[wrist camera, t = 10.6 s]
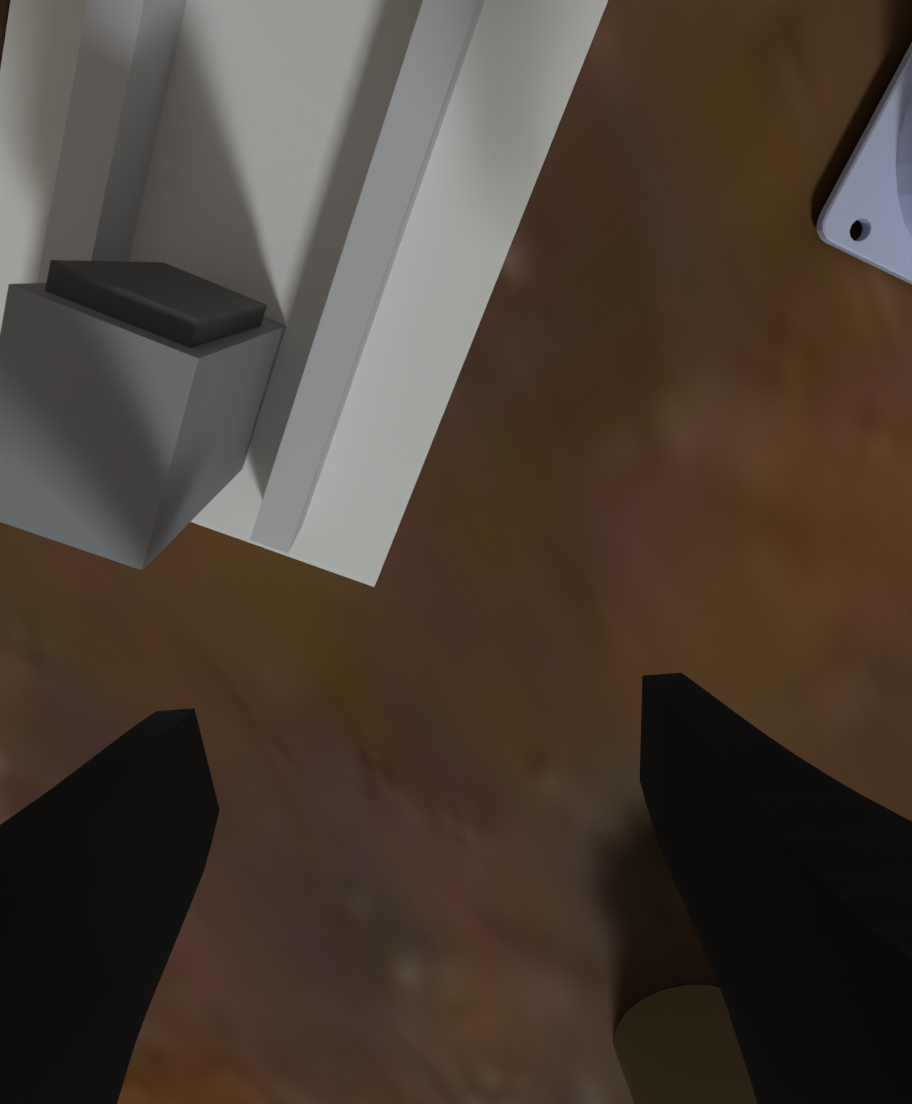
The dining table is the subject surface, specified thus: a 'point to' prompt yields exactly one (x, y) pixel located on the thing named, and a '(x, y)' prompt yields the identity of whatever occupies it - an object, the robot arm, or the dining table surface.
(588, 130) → the dining table surface
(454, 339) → the rail
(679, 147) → the dining table surface
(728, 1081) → the cork
